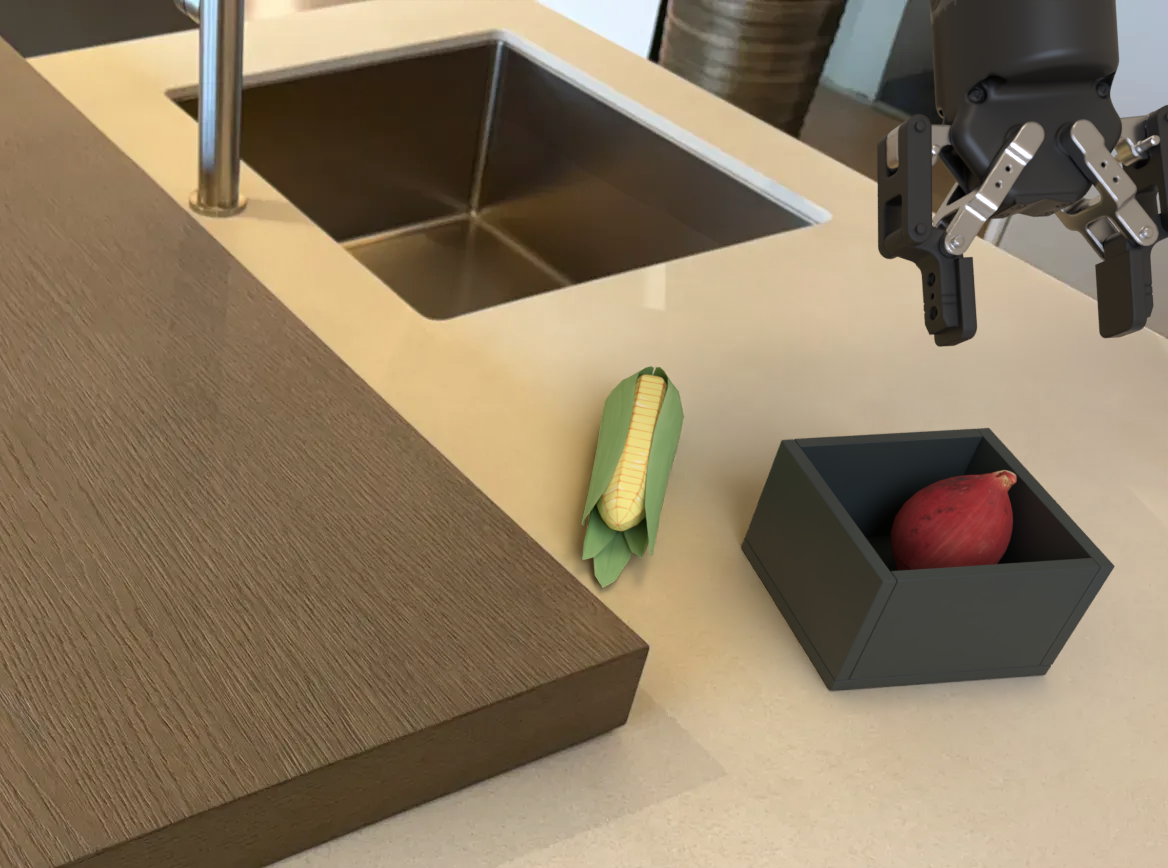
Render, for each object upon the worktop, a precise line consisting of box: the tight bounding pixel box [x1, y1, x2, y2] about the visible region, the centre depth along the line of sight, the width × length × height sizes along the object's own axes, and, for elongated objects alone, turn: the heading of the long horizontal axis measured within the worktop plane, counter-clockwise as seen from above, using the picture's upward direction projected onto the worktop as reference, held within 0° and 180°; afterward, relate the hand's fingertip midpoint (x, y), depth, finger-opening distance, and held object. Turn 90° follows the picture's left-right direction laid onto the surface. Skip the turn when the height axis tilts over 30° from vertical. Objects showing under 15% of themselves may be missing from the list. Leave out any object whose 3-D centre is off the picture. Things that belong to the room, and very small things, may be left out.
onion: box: [891, 470, 1017, 571], centre depth 77 cm, size 6×6×8 cm
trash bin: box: [740, 427, 1116, 692], centre depth 76 cm, size 13×13×8 cm
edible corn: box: [581, 365, 685, 588], centre depth 85 cm, size 5×20×5 cm, turn 161°
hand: (1040, 338), depth 65 cm, fingers open, 8 cm apart
